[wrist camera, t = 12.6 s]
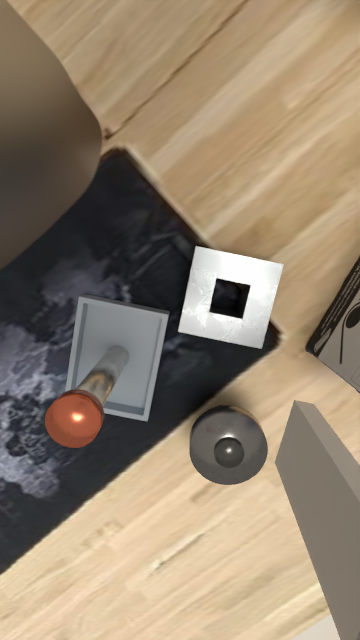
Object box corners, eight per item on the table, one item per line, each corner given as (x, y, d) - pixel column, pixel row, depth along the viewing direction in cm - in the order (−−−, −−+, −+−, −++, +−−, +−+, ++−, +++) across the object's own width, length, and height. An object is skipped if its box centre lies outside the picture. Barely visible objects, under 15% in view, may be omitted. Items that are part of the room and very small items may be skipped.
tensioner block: (195, 247, 39) (195, 246, 34) (271, 262, 39) (283, 264, 34) (179, 322, 41) (178, 331, 36) (252, 337, 41) (261, 348, 36)
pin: (104, 337, 41) (48, 392, 25) (136, 344, 41) (103, 403, 25) (98, 368, 42) (41, 441, 25) (131, 375, 42) (94, 452, 25)
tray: (85, 293, 40) (78, 296, 38) (169, 311, 41) (168, 314, 38) (70, 395, 43) (63, 404, 41) (149, 411, 43) (147, 421, 41)
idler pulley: (196, 378, 42) (198, 410, 33) (260, 391, 42) (278, 426, 34) (183, 436, 44) (182, 481, 35) (244, 448, 44) (258, 496, 35)
